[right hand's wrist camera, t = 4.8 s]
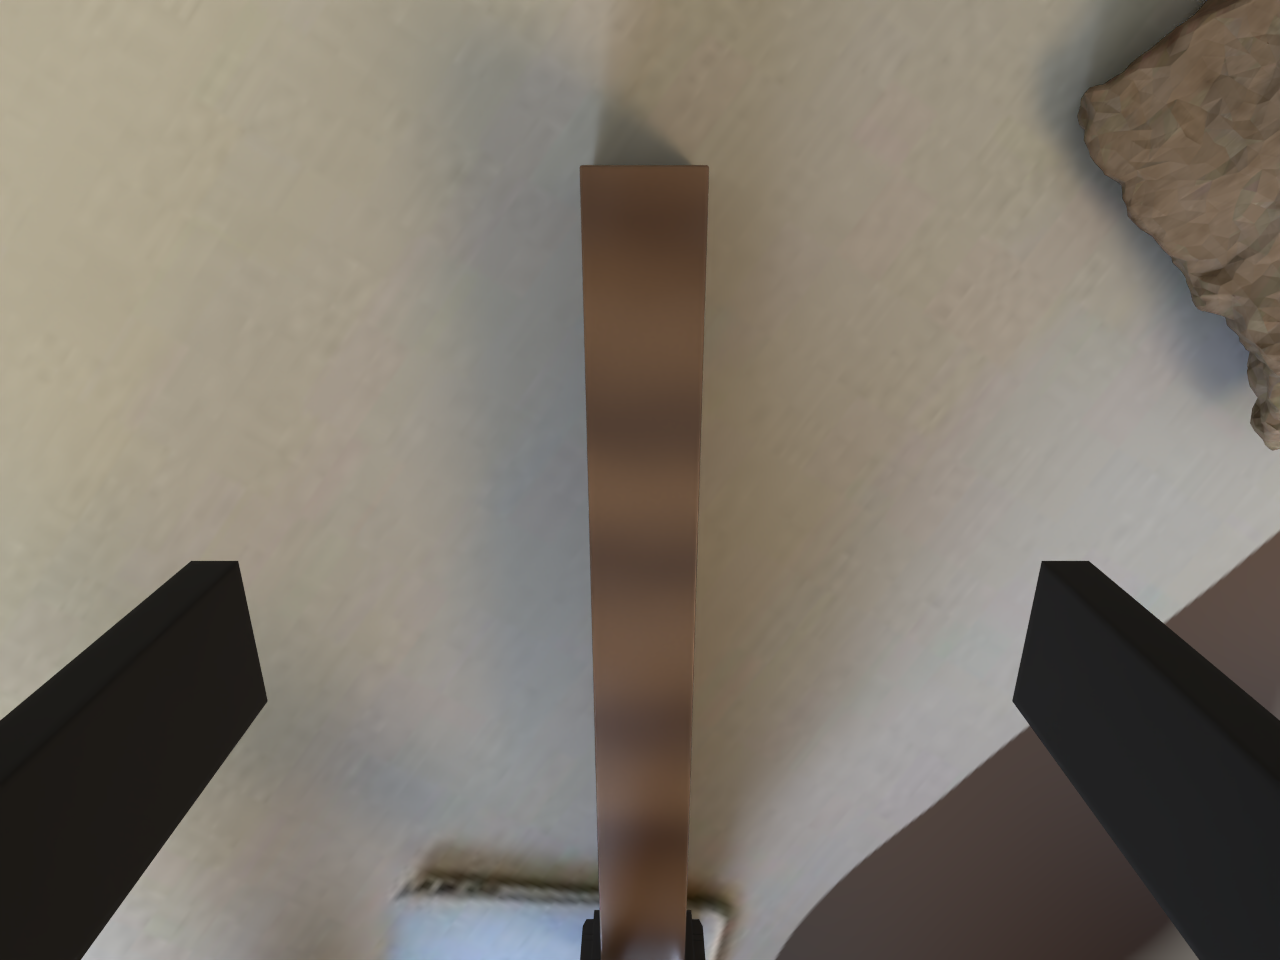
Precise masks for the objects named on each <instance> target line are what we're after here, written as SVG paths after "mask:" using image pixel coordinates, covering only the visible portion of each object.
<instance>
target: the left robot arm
mask: <svg viewBox="0 0 1280 960" xmlns="http://www.w3.org/2000/svg"><path fill="white" fill-rule="evenodd" d="M580 960H601V948H600V910H594V919H586V921H585V923H584V925H583V931H582V944H581V957H580ZM685 960H705V949H704V937H703V926H702V924H701V922H700V920H699V919H692V915H691V910H686V939H685Z"/></svg>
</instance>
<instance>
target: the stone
mask: <svg viewBox="0 0 1280 960" xmlns="http://www.w3.org/2000/svg"><path fill="white" fill-rule="evenodd" d="M1077 117H1078V122H1079V125H1080V126H1081V127H1082V128H1083V129H1084V130H1085V133H1084V141H1085V143H1086V145H1087V147H1088V149H1089V153H1090V156H1091V158H1092V159H1093V161H1094V162H1095V163H1096V164H1097V166H1098V167H1099V168H1100V169H1101V170H1102V171H1103V172H1104V174H1105V175H1106V176H1108V177H1110V178H1112V179H1114V180H1115V181H1117V182H1118V183H1120V184H1121V186H1122V198H1123V200H1124V202H1125V204H1126V206H1127V213H1128V217H1129V218H1130V219H1131V220H1132V221H1133V222H1134V223H1135V224H1136V225H1137V226H1138V227H1139V228H1140V229H1141V230H1143V231H1144V232H1146V233H1148V234H1149V235H1151V236H1152V237H1153V238H1154V239H1155V240H1156V242H1157V243H1158V244H1159V245H1160V246H1161V248H1162V249H1163V250H1164V251H1165V252H1166V253H1167V254H1168V255H1169V256H1171V257H1172V261H1173V263H1174V264H1175V265H1176V266H1177V267H1178V268H1179V269H1180V270H1181V271H1182V273H1183V274H1184V276H1185V277H1186V282H1187V284H1188V287H1189V289H1190V291H1191V296H1192V301H1193V303H1194V304H1195V306H1196V307H1197V308H1198V309H1199V310H1201V311H1207V312H1211V313H1214V314H1218V315H1222V316H1224V317H1225V318H1226V322H1227V325H1228V326H1229V327H1230V328H1231V329H1232V330H1233V331H1234V332H1235V333H1236V334H1237V335H1238V336H1239V340H1240V342H1241V343H1242V344H1243V345H1244V347H1245V349H1246V350H1248V351H1250V353H1249V358H1248V363H1247V367H1248V370H1247V374H1248V380H1249V385H1250V387H1251V389H1252V390H1253V391H1254V393H1255V394H1256V396H1257V397H1258V398H1257V400H1256V403H1255V405H1254V406H1253V408H1252V415H1251V422H1250V424H1251V425H1252V427H1253V429H1254V431H1255V432H1256V433H1257V434H1258V435H1259V436H1260V437H1261V438H1262V439H1263V441H1264V443H1265V445H1266V446H1267V447H1268V448H1269V449H1271V450H1276V449H1280V0H1207V1H1206V2H1205V4H1204V5H1203V6H1202V7H1201V8H1200V9H1199V10H1198V12H1197V13H1196V14H1195V15H1194V16H1192V17H1191V18H1190V19H1188V20H1187V21H1186V22H1184V23H1183V24H1181V25H1180V26H1178V27H1176V28H1175V29H1174V30H1173V31H1172V32H1171V33H1169V34H1168V35H1167V36H1165V37H1164V38H1163V39H1161V40H1160V41H1159V42H1158V43H1157V44H1156V45H1155V46H1153V47H1152V48H1151V49H1150V50H1148V51H1147V52H1145V53H1144V54H1143V55H1141V56H1140V57H1138V58H1137V59H1136V60H1135V61H1133V62H1132V63H1131V64H1130V65H1129V66H1128V68H1127V69H1126V70H1125V71H1124V72H1123V73H1121V74H1119V75H1118V76H1116V77H1114V78H1112V79H1110V80H1109V81H1108V82H1106V83H1105V84H1103V85H1097V86H1094V87H1090V88H1089V89H1088V90H1087V91H1086V92H1085V94H1084V95H1083V97H1082V98H1081V106H1080V109H1079V113H1078V116H1077Z"/></svg>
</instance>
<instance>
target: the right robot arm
mask: <svg viewBox="0 0 1280 960" xmlns="http://www.w3.org/2000/svg"><path fill="white" fill-rule="evenodd" d="M266 703H267V696H266V691H265V686H264V682H263V677H262V672H261V667H260V663H259V658H258V653H257V648H256V644H255V639H254V634H253V629H252V625H251V620H250V615H249V610H248V606H247V601H246V596H245V591H244V587H243V582H242V577H241V572H240V568H239V563H238V561H191V562H189V563H188V564H187V565H186V566H185V567H183V568H182V569H181V570H180V571H179V572H178V573H176V574H175V575H174V576H173V577H172V578H170V579H169V580H168V581H167V582H166V583H164V584H163V585H162V586H161V587H160V588H158V589H157V590H156V591H155V592H154V593H152V594H151V595H150V596H149V597H148V598H146V599H145V600H144V601H143V602H142V603H140V604H139V605H138V606H137V607H136V608H134V609H133V610H132V611H131V612H130V613H128V614H127V615H126V616H125V617H124V618H122V619H121V620H120V621H119V622H118V623H116V624H115V625H114V626H113V627H112V628H111V629H109V630H108V631H107V632H106V633H105V634H103V635H102V636H101V637H100V638H99V639H97V640H96V641H95V642H94V643H93V644H91V645H90V646H89V647H88V648H87V649H85V650H84V651H83V652H82V653H81V654H79V655H78V656H77V657H76V658H75V659H73V660H72V661H71V662H70V663H69V664H67V665H66V666H65V667H64V668H63V669H61V670H60V671H59V672H58V673H57V674H55V675H54V676H53V677H52V678H51V679H50V680H48V681H47V682H46V683H45V684H44V685H42V686H41V687H40V688H39V689H38V690H36V691H35V692H34V693H33V694H32V695H30V696H29V697H28V698H27V699H26V700H24V701H23V702H22V703H21V704H20V705H18V706H17V707H16V708H15V709H14V710H12V711H11V712H10V713H9V714H8V715H6V716H5V717H4V718H3V719H2V720H0V960H81V959H82V957H83V956H84V954H85V953H86V952H87V950H88V949H89V948H90V946H91V945H92V943H93V942H94V941H95V939H96V938H97V936H98V935H99V934H100V932H101V931H102V930H103V928H104V927H105V925H106V924H107V923H108V921H109V920H110V918H111V917H112V916H113V914H114V913H115V912H116V910H117V909H118V907H119V906H120V905H121V903H122V902H123V901H124V899H125V898H126V896H127V895H128V894H129V892H130V891H131V889H132V888H133V887H134V885H135V884H136V883H137V881H138V880H139V878H140V877H141V876H142V874H143V873H144V871H145V870H146V869H147V867H148V866H149V865H150V863H151V862H152V860H153V859H154V858H155V856H156V855H157V853H158V852H159V851H160V849H161V848H162V847H163V845H164V844H165V842H166V841H167V840H168V838H169V837H170V835H171V834H172V833H173V831H174V830H175V829H176V827H177V826H178V824H179V823H180V822H181V820H182V819H183V817H184V816H185V815H186V813H187V812H188V811H189V809H190V808H191V806H192V805H193V804H194V802H195V801H196V800H197V798H198V797H199V795H200V794H201V793H202V791H203V790H204V788H205V787H206V786H207V784H208V783H209V782H210V780H211V779H212V777H213V776H214V775H215V773H216V772H217V770H218V769H219V768H220V766H221V765H222V764H223V762H224V761H225V759H226V758H227V757H228V755H229V754H230V752H231V751H232V750H233V748H234V747H235V746H236V744H237V743H238V741H239V740H240V739H241V737H242V736H243V734H244V733H245V732H246V730H247V729H248V728H249V726H250V725H251V723H252V722H253V721H254V719H255V718H256V716H257V715H258V714H259V712H260V711H261V710H262V708H263V707H264V705H265V704H266ZM1013 703H1014V704H1015V705H1016V707H1017V708H1018V710H1019V711H1020V712H1021V714H1022V715H1023V716H1024V718H1025V719H1026V721H1027V722H1028V723H1029V725H1030V726H1031V728H1032V729H1033V730H1034V732H1035V733H1036V734H1037V736H1038V737H1039V739H1040V740H1041V741H1042V743H1043V744H1044V745H1045V747H1046V748H1047V750H1048V751H1049V752H1050V754H1051V755H1052V757H1053V758H1054V759H1055V761H1056V762H1057V764H1058V765H1059V766H1060V768H1061V769H1062V770H1063V772H1064V773H1065V775H1066V776H1067V777H1068V779H1069V780H1070V782H1071V783H1072V784H1073V786H1074V787H1075V788H1076V790H1077V791H1078V793H1079V794H1080V795H1081V797H1082V798H1083V799H1084V801H1085V802H1086V804H1087V805H1088V806H1089V808H1090V809H1091V811H1092V812H1093V813H1094V815H1095V816H1096V817H1097V819H1098V820H1099V822H1100V823H1101V824H1102V826H1103V827H1104V829H1105V830H1106V831H1107V833H1108V834H1109V835H1110V837H1111V838H1112V840H1113V841H1114V842H1115V844H1116V845H1117V847H1118V848H1119V849H1120V851H1121V852H1122V853H1123V855H1124V856H1125V858H1126V859H1127V860H1128V862H1129V863H1130V864H1131V866H1132V867H1133V869H1134V870H1135V871H1136V873H1137V874H1138V875H1139V877H1140V878H1141V880H1142V881H1143V882H1144V884H1145V885H1146V887H1147V888H1148V889H1149V891H1150V892H1151V893H1152V895H1153V896H1154V898H1155V899H1156V901H1157V902H1158V903H1159V905H1160V906H1161V907H1162V909H1163V910H1164V912H1165V913H1166V914H1167V916H1168V917H1169V918H1170V920H1171V921H1172V923H1173V924H1174V925H1175V927H1176V928H1177V929H1178V931H1179V932H1180V934H1181V935H1182V936H1183V938H1184V939H1185V941H1186V942H1187V943H1188V945H1189V946H1190V948H1191V949H1192V950H1193V952H1194V953H1195V954H1196V956H1197V957H1198V958H1199V960H1280V720H1278V719H1277V718H1276V717H1275V716H1274V715H1272V714H1271V713H1270V712H1269V711H1268V710H1266V709H1265V708H1264V707H1263V706H1262V705H1260V704H1259V703H1258V702H1257V701H1256V700H1254V699H1253V698H1252V697H1251V696H1250V695H1248V694H1247V693H1246V692H1245V691H1244V690H1242V689H1241V688H1240V687H1239V686H1238V685H1236V684H1235V683H1234V682H1233V681H1232V680H1230V679H1229V678H1228V677H1227V676H1226V675H1225V674H1223V673H1222V672H1221V671H1220V670H1218V669H1217V668H1216V667H1215V666H1214V665H1213V664H1211V663H1210V662H1209V661H1208V660H1207V659H1205V658H1204V657H1203V656H1202V655H1201V654H1199V653H1198V652H1197V651H1196V650H1195V649H1193V648H1192V647H1191V646H1190V645H1189V644H1187V643H1186V642H1185V641H1184V640H1183V639H1181V638H1180V637H1179V636H1178V635H1177V634H1175V633H1174V632H1173V631H1172V630H1171V629H1169V628H1168V627H1167V626H1166V625H1165V624H1164V623H1162V622H1161V621H1160V620H1159V619H1158V618H1156V617H1155V616H1154V615H1153V614H1152V613H1150V612H1149V611H1148V610H1147V609H1146V608H1144V607H1143V606H1142V605H1141V604H1140V603H1138V602H1137V601H1136V600H1135V599H1134V598H1132V597H1131V596H1130V595H1129V594H1128V593H1126V592H1125V591H1124V590H1123V589H1122V588H1120V587H1119V586H1118V585H1117V584H1116V583H1114V582H1113V581H1112V580H1111V579H1110V578H1108V577H1107V576H1106V575H1105V574H1104V573H1102V572H1101V571H1100V570H1099V569H1098V568H1097V567H1095V566H1094V565H1093V564H1092V563H1091V562H1089V561H1042V563H1041V568H1040V572H1039V577H1038V582H1037V587H1036V591H1035V596H1034V601H1033V606H1032V610H1031V615H1030V620H1029V625H1028V629H1027V634H1026V639H1025V644H1024V648H1023V653H1022V658H1021V663H1020V667H1019V672H1018V677H1017V682H1016V686H1015V691H1014V696H1013Z"/></svg>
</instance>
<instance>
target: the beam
mask: <svg viewBox="0 0 1280 960" xmlns="http://www.w3.org/2000/svg"><path fill="white" fill-rule="evenodd" d="M708 184H709V166H707V165H581V166H580V194H581V232H582V270H583V307H584V345H585V383H586V420H587V458H588V496H589V533H590V571H591V609H592V646H593V684H594V722H595V759H596V797H597V835H598V872H599V910H600V948H601V960H685V939H686V906H687V873H688V840H689V808H690V775H691V742H692V709H693V676H694V644H695V611H696V578H697V545H698V512H699V480H700V447H701V414H702V381H703V348H704V316H705V283H706V250H707V217H708Z"/></svg>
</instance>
